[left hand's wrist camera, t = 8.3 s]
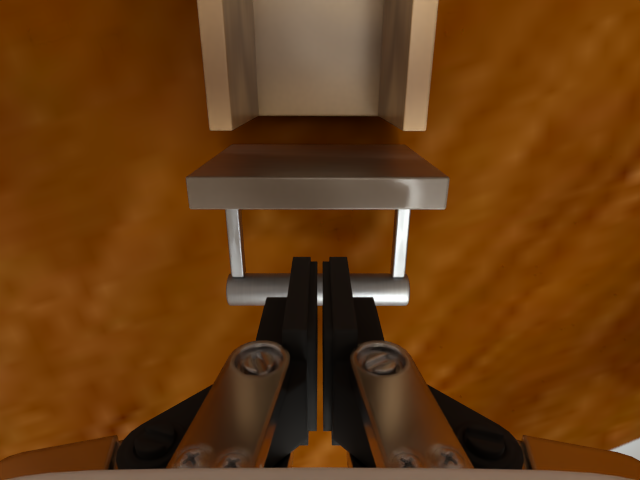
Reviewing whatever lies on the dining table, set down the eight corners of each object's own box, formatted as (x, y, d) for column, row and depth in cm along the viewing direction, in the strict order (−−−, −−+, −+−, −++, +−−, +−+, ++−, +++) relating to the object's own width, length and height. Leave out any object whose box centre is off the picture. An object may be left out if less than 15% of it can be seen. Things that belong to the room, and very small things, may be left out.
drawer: (395, 265, 24) (429, 346, 16) (240, 264, 24) (206, 345, 16) (444, -344, 15) (567, -767, 7) (192, -345, 15) (66, -768, 7)
